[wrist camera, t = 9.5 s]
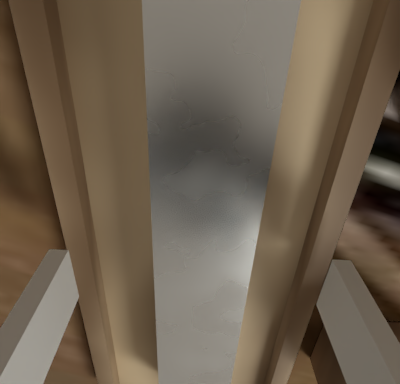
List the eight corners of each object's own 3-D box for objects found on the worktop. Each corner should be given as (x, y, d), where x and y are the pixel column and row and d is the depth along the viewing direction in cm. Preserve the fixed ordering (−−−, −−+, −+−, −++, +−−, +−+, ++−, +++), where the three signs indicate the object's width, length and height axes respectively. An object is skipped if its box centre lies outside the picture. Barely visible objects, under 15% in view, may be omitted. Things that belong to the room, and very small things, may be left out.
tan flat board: (108, 384, 22) (103, 406, 21) (-10, -199, 8) (-47, -235, 7) (273, 389, 23) (277, 410, 21) (452, -168, 8) (495, -196, 7)
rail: (166, 376, 21) (161, 438, 18) (158, -89, 9) (135, -137, 6) (217, 378, 21) (220, 439, 18) (282, -82, 9) (323, -126, 6)
